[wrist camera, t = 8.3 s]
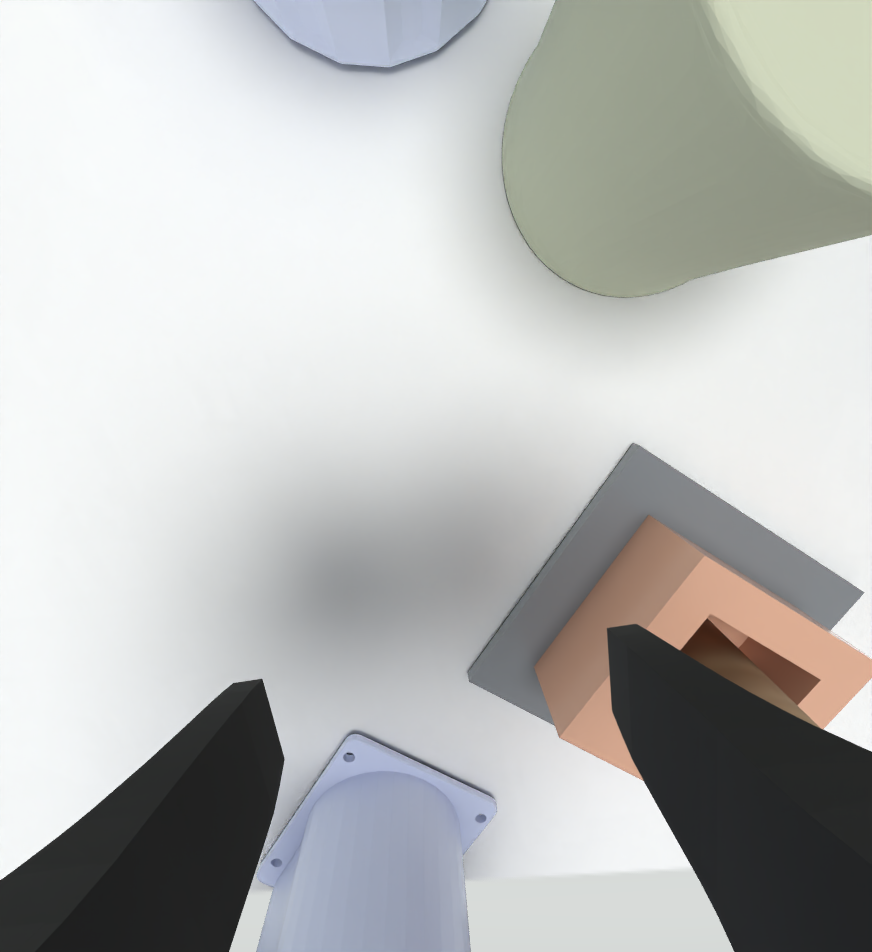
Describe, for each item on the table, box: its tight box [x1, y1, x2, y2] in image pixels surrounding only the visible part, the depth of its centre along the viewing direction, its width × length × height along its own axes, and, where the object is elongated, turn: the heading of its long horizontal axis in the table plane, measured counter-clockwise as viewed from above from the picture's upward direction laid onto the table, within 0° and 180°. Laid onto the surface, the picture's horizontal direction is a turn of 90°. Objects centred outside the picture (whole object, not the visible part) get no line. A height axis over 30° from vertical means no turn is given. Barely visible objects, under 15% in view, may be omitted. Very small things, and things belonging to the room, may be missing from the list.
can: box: [502, 0, 872, 297], centre depth 11 cm, size 9×9×12 cm
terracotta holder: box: [468, 443, 872, 781], centre depth 19 cm, size 12×12×4 cm
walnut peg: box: [680, 618, 820, 728], centre depth 16 cm, size 4×4×8 cm
